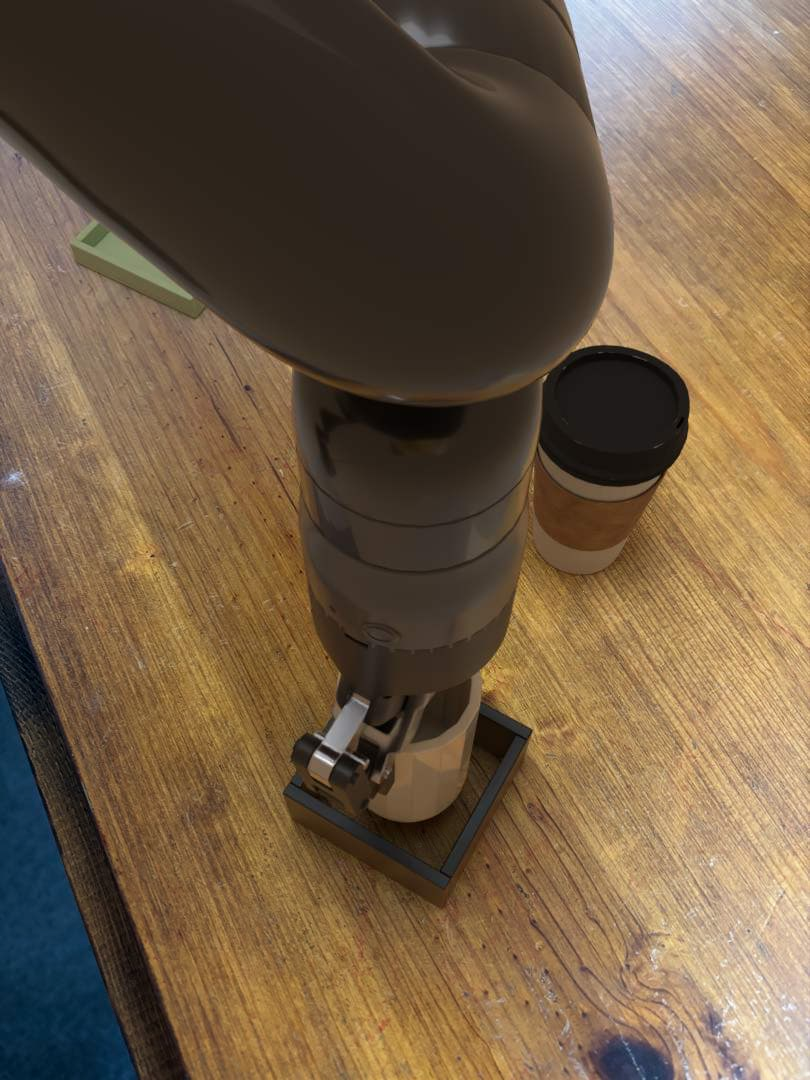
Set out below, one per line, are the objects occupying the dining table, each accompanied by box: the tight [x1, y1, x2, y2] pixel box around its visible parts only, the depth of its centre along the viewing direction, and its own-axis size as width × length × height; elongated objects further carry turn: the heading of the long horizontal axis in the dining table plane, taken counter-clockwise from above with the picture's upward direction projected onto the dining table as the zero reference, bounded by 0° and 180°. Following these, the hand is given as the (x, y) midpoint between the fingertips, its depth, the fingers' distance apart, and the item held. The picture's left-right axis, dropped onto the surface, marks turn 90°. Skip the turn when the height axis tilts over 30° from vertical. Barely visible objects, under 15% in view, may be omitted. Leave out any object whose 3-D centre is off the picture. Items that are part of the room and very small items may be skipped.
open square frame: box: [282, 701, 534, 910], centre depth 59 cm, size 10×10×5 cm
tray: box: [69, 219, 206, 319], centre depth 82 cm, size 13×11×2 cm
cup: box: [335, 670, 484, 823], centre depth 52 cm, size 6×6×11 cm
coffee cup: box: [531, 344, 691, 576], centre depth 63 cm, size 8×8×15 cm
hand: (408, 717), depth 51 cm, fingers closed on cup, 6 cm apart
